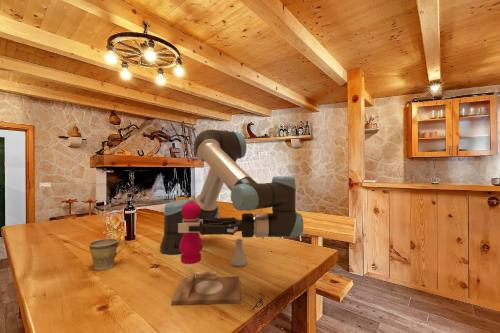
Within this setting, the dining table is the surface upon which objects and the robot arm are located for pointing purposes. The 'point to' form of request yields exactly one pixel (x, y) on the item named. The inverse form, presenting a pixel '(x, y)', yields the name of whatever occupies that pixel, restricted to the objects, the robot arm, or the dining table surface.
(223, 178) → the robot arm
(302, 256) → the dining table surface
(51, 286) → the dining table surface
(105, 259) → the ceramic cup
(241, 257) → the flask
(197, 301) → the jig board
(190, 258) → the pepper mill
